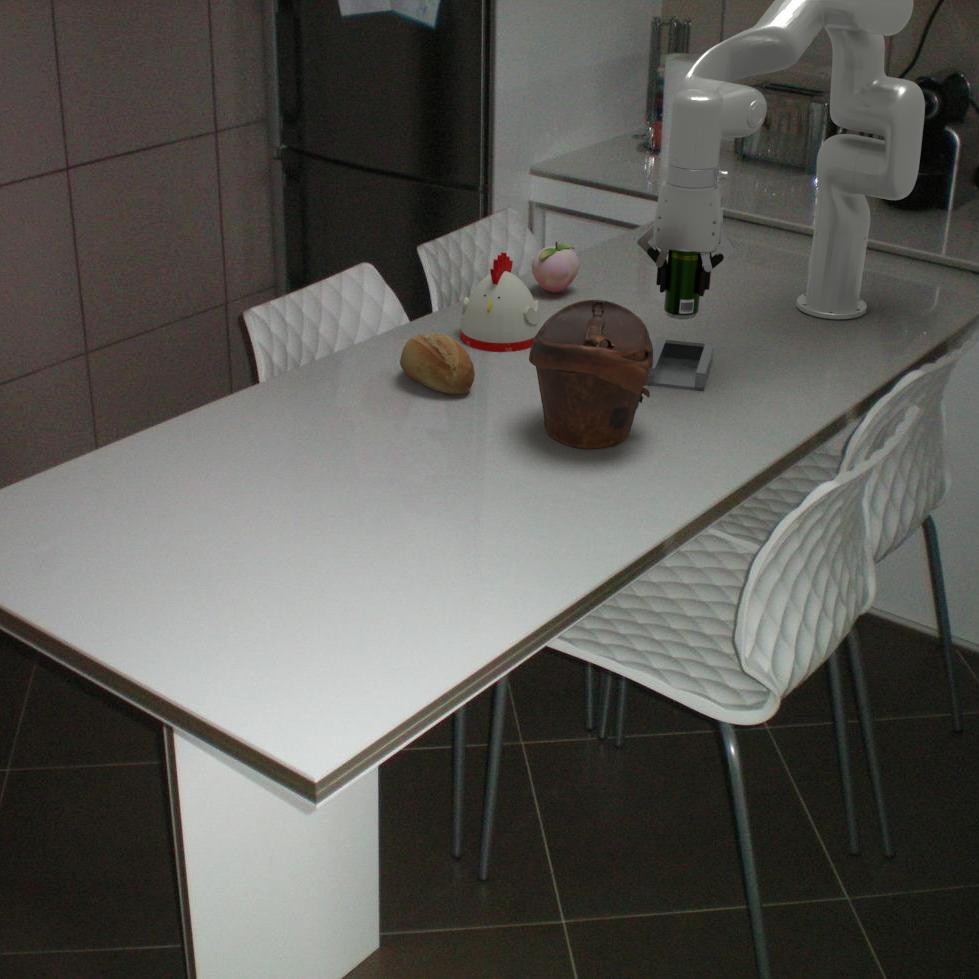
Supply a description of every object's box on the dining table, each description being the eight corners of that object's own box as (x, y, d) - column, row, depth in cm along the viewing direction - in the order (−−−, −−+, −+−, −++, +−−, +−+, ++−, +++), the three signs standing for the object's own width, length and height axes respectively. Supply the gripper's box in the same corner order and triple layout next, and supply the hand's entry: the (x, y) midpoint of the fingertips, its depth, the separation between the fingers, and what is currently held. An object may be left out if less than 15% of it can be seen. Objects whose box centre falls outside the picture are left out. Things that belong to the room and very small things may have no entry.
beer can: (704, 317, 215) (711, 243, 209) (673, 321, 213) (679, 246, 207) (687, 306, 219) (694, 233, 214) (657, 310, 217) (663, 236, 212)
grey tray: (656, 355, 232) (657, 338, 231) (712, 361, 230) (714, 344, 229) (644, 384, 221) (645, 367, 219) (703, 391, 219) (705, 373, 217)
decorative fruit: (548, 282, 265) (550, 231, 260) (584, 290, 261) (587, 239, 256) (521, 295, 258) (522, 243, 254) (557, 304, 254) (559, 251, 249)
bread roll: (440, 407, 212) (440, 358, 209) (384, 377, 223) (383, 330, 219) (489, 392, 218) (489, 344, 214) (432, 363, 228) (431, 317, 224)
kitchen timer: (447, 344, 235) (447, 260, 229) (478, 319, 247) (479, 237, 240) (523, 357, 231) (526, 271, 224) (551, 330, 242) (554, 247, 235)
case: (570, 470, 193) (577, 350, 185) (503, 418, 209) (507, 305, 201) (676, 448, 201) (687, 332, 193) (603, 399, 216) (611, 290, 208)
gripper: (752, 174, 207) (740, 289, 215) (639, 165, 211) (631, 279, 219) (747, 186, 200) (735, 305, 209) (631, 177, 204) (623, 294, 212)
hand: (682, 290), depth 214 cm, fingers closed on beer can, 5 cm apart
